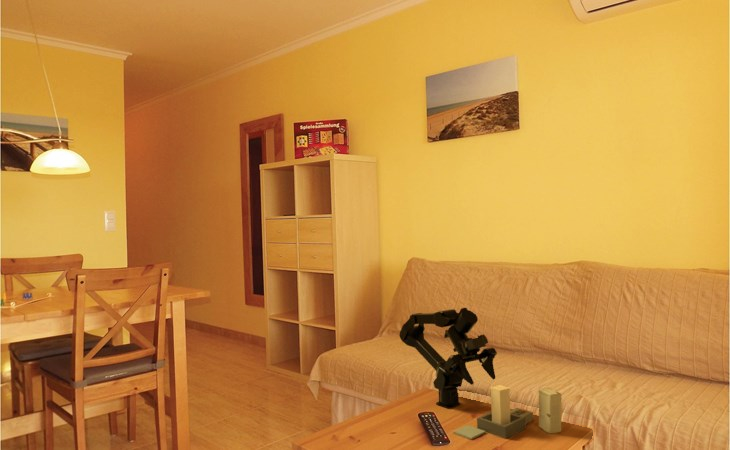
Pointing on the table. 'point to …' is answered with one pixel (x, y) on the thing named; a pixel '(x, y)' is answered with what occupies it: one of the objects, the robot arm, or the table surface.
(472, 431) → the rubber mat
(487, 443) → the table surface
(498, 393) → the cream rectangular block
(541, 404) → the skincare box
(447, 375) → the robot arm
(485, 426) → the grey green open tray
